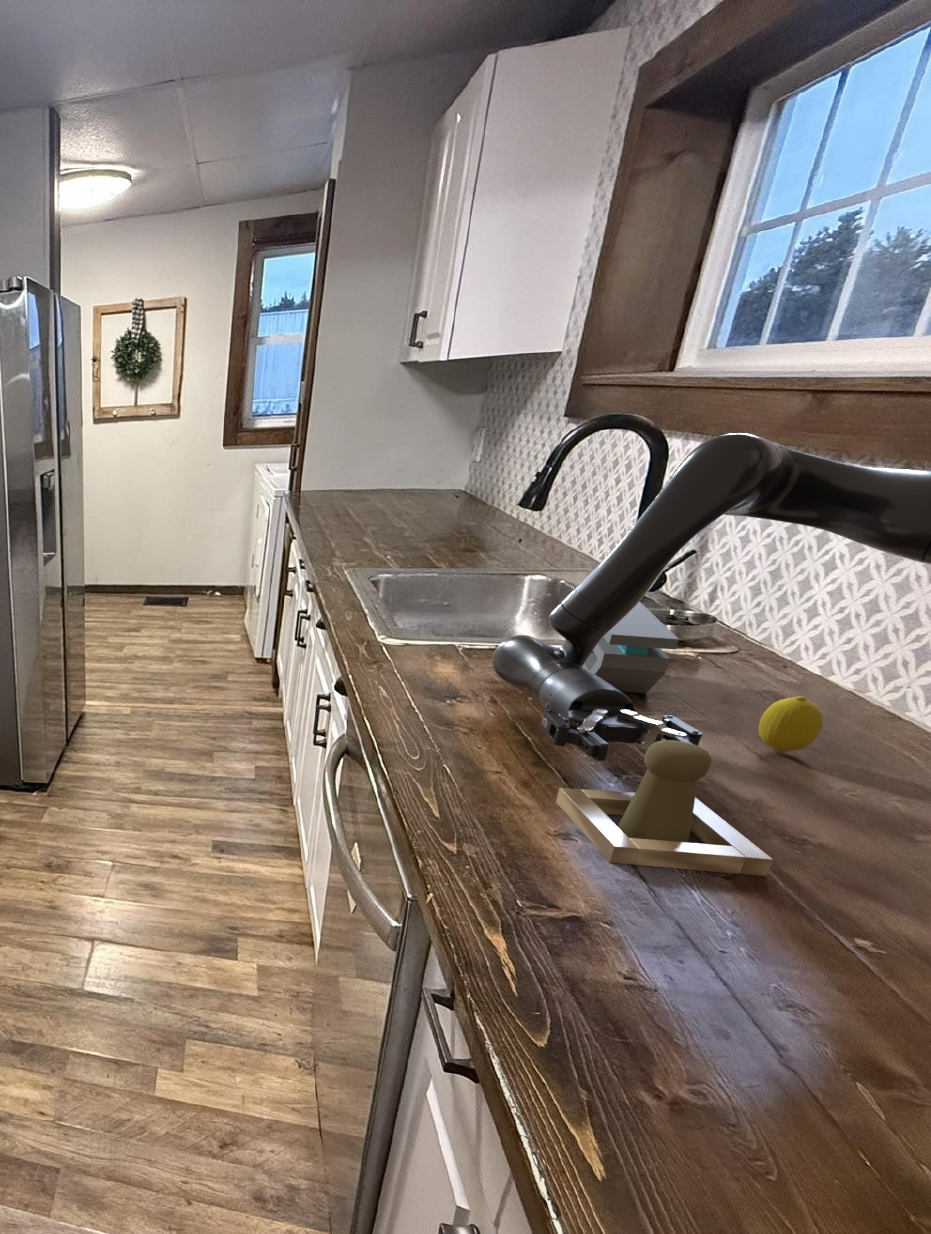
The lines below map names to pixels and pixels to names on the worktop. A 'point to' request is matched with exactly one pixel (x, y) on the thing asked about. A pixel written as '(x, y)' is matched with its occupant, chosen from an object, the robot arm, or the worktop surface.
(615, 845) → the wooden frame
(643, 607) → the grey slotted holder
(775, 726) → the lemon
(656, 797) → the cork
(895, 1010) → the worktop surface
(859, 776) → the worktop surface
